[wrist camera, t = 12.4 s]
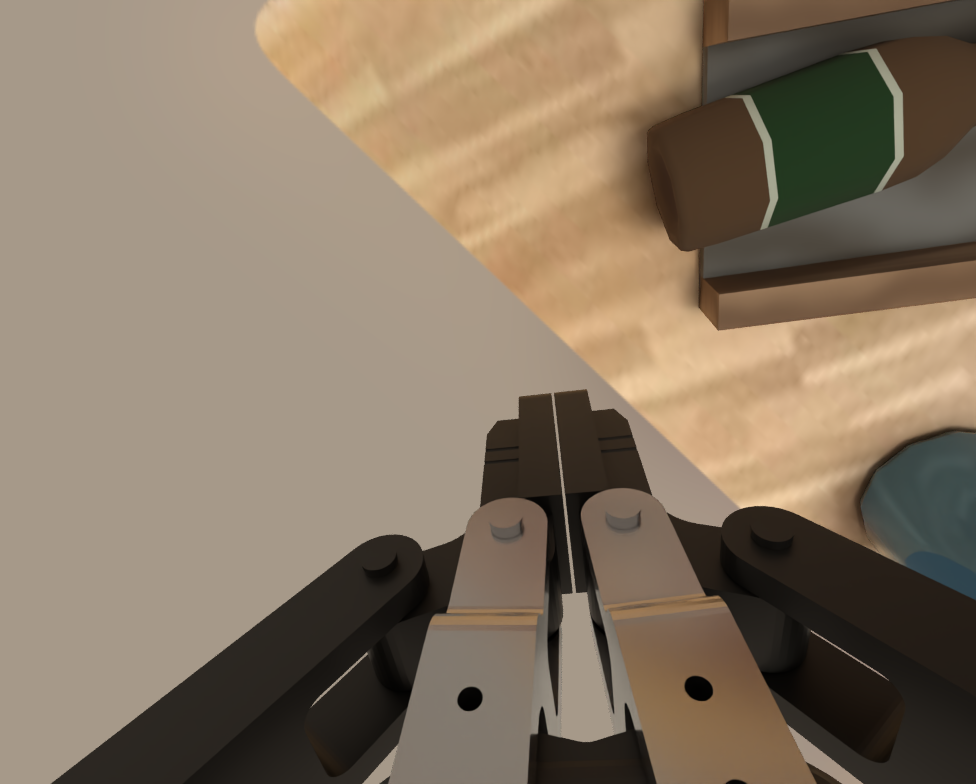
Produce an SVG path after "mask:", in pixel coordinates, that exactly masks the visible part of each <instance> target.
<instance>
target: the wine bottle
mask: <svg viewBox="0 0 976 784" xmlns="http://www.w3.org/2000/svg"><path fill="white" fill-rule="evenodd" d="M860 506H861V511H862V516H863V521H864V525H865V530H866V534H867V537H868V539H869V540H870V541H871V542H872V544H873V545H874V546H875V548H876V549H877V550H878V551H879V553H880V554H881V555H883V556H885V557H887V558H889V559H891V560H893V561H895V562H897V563H899V564H901V565H904V566H906V567H908V568H910V569H912V570H914V571H916V572H918V573H920V574H922V575H924V576H927V577H929V578H931V579H933V580H935V581H937V582H939V583H941V584H943V585H945V586H947V587H949V588H952V589H954V590H956V591H958V592H960V593H962V594H964V595H966V596H968V597H970V598H972V599H975V600H976V433H973V432H962V431H951V432H948V433H944V434H941V435H938V436H935V437H931V438H928V439H925V440H922V441H918V442H915V443H912V444H909V445H908V446H906V447H905V448H904V449H903V450H901V451H900V452H899V453H897V454H896V455H895V456H893V457H892V458H891V459H890V460H888V461H887V462H886V463H884V464H883V465H882V466H880V467H879V468H878V469H877V470H875V472H874V474H873V476H872V478H871V480H870V482H869V484H868V486H867V488H866V490H865V492H864V494H863V496H862V498H861V500H860Z"/></svg>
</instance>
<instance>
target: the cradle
mask: <svg viewBox="0 0 976 784" xmlns="http://www.w3.org/2000/svg"><path fill="white" fill-rule="evenodd" d="M925 36H949V37H952V38H955V39H958V40H962V41H965V42H968V43H971V44H972V43H976V0H704V13H703V76H702V106H703V105H706V104H709V103H711V102H714V101H717V100H719V99H722V98H725V97H728V96H730V95H733V94H736V93H738V92H741V91H744V90H746V89H749V88H752V87H754V86H757V85H760V84H762V83H765V82H768V81H770V80H773V79H776V78H778V77H781V76H784V75H786V74H789V73H792V72H794V71H797V70H800V69H802V68H805V67H808V66H810V65H813V64H816V63H818V62H821V61H824V60H826V59H829V58H832V57H834V56H837V55H840V54H842V53H845V52H848V51H852V50H855V49H858V48H862V47H865V46H868V45H872V44H875V43H879V42H882V41H889V40H896V39H903V38H910V37H925ZM972 298H976V126H975V127H973V128H972V129H971V130H970V131H969V132H968V133H967V134H966V135H965V136H964V137H963V138H962V139H961V140H960V141H959V143H958V144H957V145H956V146H955V147H954V148H953V149H952V150H951V151H950V152H949V153H948V154H947V155H946V156H945V157H944V158H943V159H941V160H940V161H938V162H937V163H936V164H934V165H933V166H931V167H930V168H928V169H927V170H925V171H924V172H923V173H921V174H920V175H918V176H917V177H915V178H912V179H910V180H907V181H905V182H902V183H900V184H897V185H895V186H892V187H890V188H887V189H885V190H882V191H879V192H876V193H873V194H870V195H867V196H864V197H861V198H858V199H855V200H852V201H848V202H845V203H842V204H839V205H836V206H833V207H830V208H827V209H824V210H821V211H818V212H815V213H811V214H808V215H805V216H802V217H799V218H796V219H793V220H790V221H787V222H784V223H781V224H777V225H774V226H771V227H768V228H765V229H762V230H759V231H756V232H753V233H750V234H747V235H744V236H740V237H737V238H734V239H731V240H728V241H725V242H722V243H719V244H715V245H711V246H707V247H704V248H700V264H699V308H700V310H701V311H702V312H703V313H704V314H705V316H706V317H707V318H708V319H709V320H710V321H711V323H712V324H713V325H714V326H715V327H716V329H717V330H726V329H734V328H742V327H750V326H758V325H766V324H774V323H782V322H790V321H798V320H806V319H813V318H821V317H829V316H837V315H845V314H853V313H861V312H869V311H877V310H885V309H893V308H901V307H909V306H917V305H925V304H932V303H940V302H948V301H956V300H964V299H972Z"/></svg>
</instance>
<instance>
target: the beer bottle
mask: <svg viewBox="0 0 976 784" xmlns="http://www.w3.org/2000/svg"><path fill="white" fill-rule="evenodd" d="M975 126H976V43H972V44H971V43H968V42H965V41H962V40H958V39H955V38H952V37H949V36H925V37H910V38H903V39H896V40H889V41H882V42H879V43H875V44H872V45H868V46H865V47H862V48H858V49H855V50H852V51H848V52H845V53H842V54H840V55H837V56H834V57H832V58H829V59H826V60H824V61H821V62H818V63H816V64H813V65H810V66H808V67H805V68H802V69H800V70H797V71H794V72H792V73H789V74H786V75H784V76H781V77H778V78H776V79H773V80H770V81H768V82H765V83H762V84H760V85H757V86H754V87H752V88H749V89H746V90H744V91H741V92H738V93H736V94H733V95H730V96H728V97H725V98H722V99H719V100H717V101H714V102H711V103H709V104H706V105H703V106H701V107H698V108H695V109H693V110H690V111H687V112H685V113H682V114H680V115H678V116H675V117H673V118H671V119H669V120H666V121H664V122H662V123H659V124H657V125H655V126H653V127H652V128H651V129H650V130H649V131H648V132H647V154H648V166H649V171H650V176H651V180H652V185H653V190H654V194H655V199H656V204H657V207H658V210H659V212H660V215H661V218H662V220H663V223H664V226H665V228H666V231H667V234H668V237H669V239H670V241H671V242H672V243H673V244H675V245H676V246H677V247H678V248H679V249H680V250H681V251H692V250H696V249H700V248H704V247H707V246H711V245H715V244H719V243H722V242H725V241H728V240H731V239H734V238H737V237H740V236H744V235H747V234H750V233H753V232H756V231H759V230H762V229H765V228H768V227H771V226H774V225H777V224H781V223H784V222H787V221H790V220H793V219H796V218H799V217H802V216H805V215H808V214H811V213H815V212H818V211H821V210H824V209H827V208H830V207H833V206H836V205H839V204H842V203H845V202H848V201H852V200H855V199H858V198H861V197H864V196H867V195H870V194H873V193H876V192H879V191H882V190H885V189H887V188H890V187H892V186H895V185H897V184H900V183H902V182H905V181H907V180H910V179H912V178H915V177H917V176H918V175H920V174H921V173H923V172H924V171H925V170H927V169H928V168H930V167H931V166H933V165H934V164H936V163H937V162H938V161H940V160H941V159H943V158H944V157H945V156H946V155H947V154H948V153H949V152H950V151H951V150H952V149H953V148H954V147H955V146H956V145H957V144H958V143H959V141H960V140H961V139H962V138H963V137H964V136H965V135H966V134H967V133H968V132H969V131H970V130H971V129H972V128H973V127H975Z"/></svg>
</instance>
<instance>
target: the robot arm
mask: <svg viewBox="0 0 976 784" xmlns="http://www.w3.org/2000/svg"><path fill="white" fill-rule="evenodd" d="M554 397H555V406H556V415H557V424H558V433H559V443H560V452H561V461H562V470H563V479H564V488H565V496H566V506H567V515H568V524H569V533H570V542H571V550H572V559H573V569H574V578H575V586H576V593H582V592H587V594H588V602H589V609H590V619H591V629H592V635H593V640H594V644H595V649H596V653H597V658H598V662H599V667H600V671H601V676H602V680H603V684H604V689H605V693H606V698H607V702H608V707H609V712H610V716H611V720H612V725H613V730H614V735H613V736H610V737H606V738H603V739H600V740H597V741H593V742H578V741H574V740H570V739H566V738H561V690H562V686H561V685H562V684H561V683H562V628H561V622H562V618H563V605H562V594H570V593H572V583H571V574H570V564H569V554H568V545H567V537H566V536H567V535H566V525H565V517H564V507H563V497H562V487H561V478H560V469H559V460H558V451H557V441H556V432H555V424H554V416H553V405H552V396H551V393H549V394H540V395H531V396H521V397H519V419H511V420H501V421H497V422H496V424H495V425H494V426H493V428H492V429H491V430H490V431H489V433H488V434H487V441H486V453H485V465H484V472H483V483H482V494H481V504H480V508H479V509H478V510H477V511H475V512H474V514H473V515H472V516H471V518H470V519H469V521H468V524H467V527H466V531H465V533H464V534H463V535H462V536H460V537H459V538H457V539H455V540H453V541H451V542H448V543H446V544H443V545H440V546H437V547H434V548H431V549H428V550H425V551H422V549H421V547H420V546H419V544H418V543H417V542H416V541H415V540H413V539H412V538H409V537H407V536H403V535H385V536H380V537H377V538H374V539H371V540H369V541H367V542H365V543H363V544H361V545H360V546H358V547H357V548H355V549H354V550H353V551H351V552H350V553H349V554H348V555H346V556H345V557H344V558H342V559H341V560H340V561H339V562H337V563H336V564H335V565H333V566H332V567H331V568H329V569H328V570H327V571H326V572H324V573H323V574H322V575H320V576H319V577H318V578H317V579H315V580H314V581H313V582H311V583H310V584H309V585H307V586H306V587H305V588H304V589H302V590H301V591H300V592H298V593H297V594H296V595H295V596H293V597H292V598H291V599H289V600H288V601H287V602H286V603H284V604H283V605H282V606H280V607H279V608H278V609H277V610H275V611H274V612H272V613H271V614H270V615H269V616H267V617H266V618H265V619H263V620H262V621H261V622H260V623H258V624H257V625H256V626H255V627H253V628H252V629H251V630H249V631H248V632H247V633H245V634H244V635H243V636H241V637H240V638H239V639H238V640H236V641H235V642H234V643H232V644H231V645H230V646H228V647H227V648H226V649H225V650H223V651H222V652H221V653H219V654H218V655H217V656H216V657H214V658H213V659H212V660H210V661H209V662H208V663H207V664H205V665H204V666H203V667H201V668H200V669H199V670H197V671H196V672H195V673H194V674H192V675H191V676H190V677H188V678H187V679H186V680H185V681H183V682H182V683H181V684H179V685H178V686H177V687H175V688H174V689H173V690H172V691H170V692H169V693H168V694H166V695H165V696H164V697H162V698H161V699H160V700H159V701H157V702H156V703H155V704H153V705H152V706H151V707H150V708H148V709H147V710H146V711H144V712H143V713H142V714H140V715H139V716H138V717H137V718H135V719H134V720H133V721H131V722H130V723H129V724H128V725H126V726H125V727H124V728H122V729H121V730H120V731H119V732H117V733H116V734H115V735H113V736H112V737H111V738H109V739H108V740H107V741H106V742H104V743H103V744H102V745H100V746H99V747H98V748H96V749H95V750H94V751H93V752H91V753H90V754H89V755H87V756H86V757H85V758H84V759H82V760H81V761H80V762H78V763H77V764H76V765H74V766H73V767H72V768H71V769H69V770H68V771H67V772H66V773H64V774H63V775H61V776H60V777H59V778H58V779H56V780H55V781H54V782H53V783H52V784H362V783H363V782H364V781H365V780H366V779H367V778H368V777H369V776H370V774H371V773H372V772H373V771H374V770H375V769H376V768H377V767H378V765H379V764H380V763H381V762H382V761H383V760H384V759H385V758H386V757H387V756H388V754H389V753H390V752H391V751H392V750H393V749H394V748H395V747H396V746H397V744H398V743H399V744H398V748H397V751H396V755H395V759H394V763H393V767H392V771H391V775H390V776H389V777H388V778H386V779H385V780H384V781H383V782H381V783H380V784H841V783H840V782H839V781H837V780H836V779H834V778H833V777H831V776H830V775H828V774H827V773H825V772H823V771H821V770H819V769H818V768H816V767H814V766H812V765H811V764H809V763H807V762H805V760H804V758H803V756H802V754H801V752H800V750H799V748H798V746H797V744H796V742H795V740H794V738H793V736H792V734H791V732H790V730H789V728H788V726H787V725H789V726H790V727H791V728H793V729H794V730H795V731H796V732H798V733H799V734H800V735H802V736H803V737H804V738H805V739H807V740H808V741H809V742H811V743H812V744H813V745H815V746H816V747H817V748H818V749H820V750H821V751H822V752H823V753H825V754H826V755H827V756H829V757H830V758H831V759H832V760H834V761H835V762H836V763H838V764H839V765H840V766H841V767H843V768H844V769H845V770H847V771H848V772H849V773H851V774H852V775H853V776H854V777H856V778H857V779H858V780H859V781H861V782H862V783H863V784H976V600H975V599H972V598H970V597H968V596H966V595H964V594H962V593H960V592H958V591H956V590H954V589H952V588H949V587H947V586H945V585H943V584H941V583H939V582H937V581H935V580H933V579H931V578H929V577H927V576H924V575H922V574H920V573H918V572H916V571H914V570H912V569H910V568H908V567H906V566H904V565H901V564H899V563H897V562H895V561H893V560H891V559H889V558H887V557H885V556H883V555H881V554H878V553H876V552H874V551H872V550H870V549H868V548H866V547H864V546H862V545H860V544H858V543H856V542H853V541H851V540H849V539H847V538H845V537H843V536H841V535H839V534H837V533H835V532H833V531H830V530H828V529H826V528H824V527H822V526H820V525H818V524H816V523H814V522H812V521H810V520H808V519H805V518H803V517H801V516H799V515H797V514H795V513H792V512H790V511H787V510H783V509H780V508H775V507H767V506H754V507H747V508H743V509H740V510H737V511H735V512H733V513H732V514H730V515H729V516H728V517H727V518H726V519H725V521H724V522H723V525H722V527H716V526H709V525H702V524H696V523H691V522H687V521H684V520H681V519H679V518H676V517H674V516H672V515H670V514H669V513H667V512H666V510H665V508H664V507H663V505H662V504H661V503H660V502H659V501H658V500H657V499H656V498H655V497H653V496H652V494H651V490H650V487H649V484H648V481H647V478H646V475H645V472H644V469H643V466H642V463H641V460H640V457H639V454H638V451H637V449H636V445H635V441H634V439H633V436H632V432H631V429H630V426H629V423H628V420H627V419H625V418H624V417H623V416H622V415H621V414H619V413H618V412H617V411H616V410H614V409H607V410H597V411H592V410H591V406H590V401H589V397H588V392H587V390H586V389H585V390H576V391H567V392H558V393H554ZM811 630H812V631H814V632H815V633H817V634H819V635H820V636H822V637H823V638H825V639H827V640H828V641H830V642H831V643H833V644H835V645H836V646H838V647H839V648H841V649H843V650H844V651H846V652H847V653H849V654H850V655H852V656H854V657H855V658H857V659H858V660H860V661H862V662H863V663H865V664H867V665H868V666H870V667H871V668H873V669H874V670H876V671H878V672H879V673H880V674H882V675H883V676H885V677H886V678H887V679H888V680H889V681H888V680H887V679H885V678H884V677H882V676H880V675H879V674H877V673H876V672H874V671H872V670H871V669H869V668H867V667H866V666H864V665H863V664H861V663H860V662H858V661H856V660H855V659H853V658H852V657H850V656H849V655H847V654H845V653H844V652H842V651H841V650H839V649H837V648H836V647H834V646H833V645H831V644H829V643H828V642H826V641H825V640H823V639H821V638H820V637H818V636H817V635H815V634H813V633H812V632H811ZM366 652H367V653H368V655H367V656H366V657H364V658H363V659H362V660H361V661H360V662H359V663H358V664H357V665H356V666H355V667H354V668H353V669H352V670H351V671H350V672H348V674H346V675H345V676H344V677H343V678H342V679H341V680H340V681H339V682H338V683H337V684H336V685H335V686H334V687H333V688H331V689H330V690H329V691H328V692H327V693H326V694H325V695H324V696H323V697H322V698H321V699H320V700H319V701H317V703H315V704H314V705H313V706H312V704H313V703H314V702H315V701H316V699H317V698H318V697H319V696H320V695H321V694H322V693H323V692H324V691H325V690H327V689H328V688H329V687H330V686H331V685H332V684H333V683H334V682H335V681H336V680H337V679H338V678H339V677H340V676H342V675H343V674H344V673H345V672H346V671H347V670H348V669H349V668H350V667H351V666H352V665H353V664H354V663H356V661H358V660H359V659H360V658H361V657H362V656H363V655H364V654H365V653H366ZM311 706H312V707H311ZM310 707H311V708H310Z"/></svg>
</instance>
